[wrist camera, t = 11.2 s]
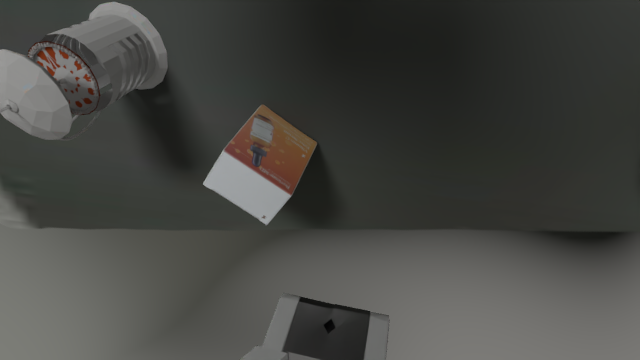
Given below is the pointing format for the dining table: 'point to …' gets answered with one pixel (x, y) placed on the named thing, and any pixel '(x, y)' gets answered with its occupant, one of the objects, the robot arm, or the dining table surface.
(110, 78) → the french press
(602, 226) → the dining table surface
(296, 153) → the small box
